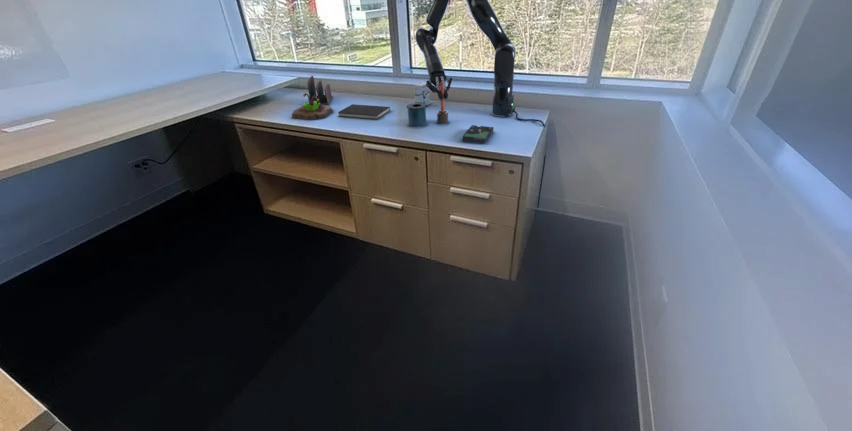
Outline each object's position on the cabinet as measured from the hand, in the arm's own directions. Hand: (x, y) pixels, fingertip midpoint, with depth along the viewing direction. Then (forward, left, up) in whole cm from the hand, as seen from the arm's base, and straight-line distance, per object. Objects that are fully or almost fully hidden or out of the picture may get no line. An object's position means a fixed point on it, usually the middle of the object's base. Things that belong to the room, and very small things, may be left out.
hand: (444, 98), depth 177 cm
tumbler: (+11, +7, -12) cm, 18 cm away
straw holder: (+2, -1, -12) cm, 13 cm away
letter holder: (+88, +2, -13) cm, 89 cm away
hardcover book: (+47, +7, -13) cm, 49 cm away
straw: (+2, -1, -7) cm, 7 cm away
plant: (+72, +22, -13) cm, 77 cm away
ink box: (+29, -21, -13) cm, 38 cm away
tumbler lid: (+11, +7, -3) cm, 13 cm away
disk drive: (-23, +7, -13) cm, 27 cm away
